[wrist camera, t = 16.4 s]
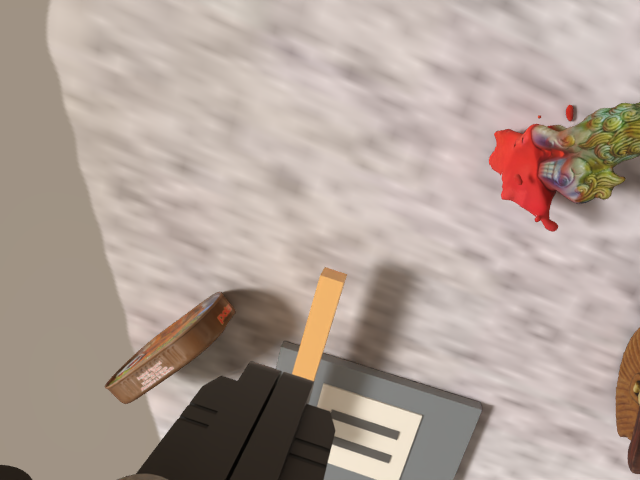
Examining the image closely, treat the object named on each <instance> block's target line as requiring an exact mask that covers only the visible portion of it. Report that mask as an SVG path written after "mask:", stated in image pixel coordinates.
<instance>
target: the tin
mask: <svg viewBox="0 0 640 480" xmlns="http://www.w3.org/2000/svg"><path fill="white" fill-rule="evenodd" d="M235 312H236V311H235V309H234V308H233V306H232V305H231V304H230V303H229V302H228V300H227V299H226V298H225V297H224V296H223V293H222V292H217V293H215V294H213V295H212V296H210V297H209V298H207V299H206V300H204V301H203V302H202V303H200V304H199V305H198V306H196V307H195V308H193V309H192V310H191V311H189V312H188V313H187V314H185V315H184V316H183V317H181V318H180V319H179V320H177V321H176V322H175V323H173V324H172V325H171V326H169V327H168V328H166V329H165V330H164V331H162V332H161V333H160V334H158V335H157V336H156V337H155V338H153V339H152V340H151V341H150V342H148V343H147V344H146V345H145V346H144V347H143V348H141V349H140V350H139V351H138V352H137V353H136V354H135V355H134V356H133V357H132V358H131V359H129V360H128V361H127V362H126V363H125V364H124V365H123V366H122V367H121V368H120V369H119V370H118V371H117V372H116V373H115V374H114V375H113V376H112V378H111V379H110V380H109V381H108V382H107V383H106V385H105V388H106V389H108V390H109V391H110V392H111V393H112V394H113V395H114V396H115V397H116V398H117V399H118V400H119V401H120V402H122V403H124V404H128V403H131V402H132V401H134V400H136V399H138V398H139V397H140V396H142V395H143V394H145V393H146V392H148V391H149V390H151V389H152V388H154V387H155V386H157V385H158V384H160V383H161V382H163V381H164V380H165V379H167V378H168V377H170V376H171V375H173V374H174V373H175V372H177V371H178V370H180V369H181V368H182V367H184V366H185V365H187V364H188V363H189V362H191V361H192V360H193V359H195V358H196V357H197V356H198V355H200V354H201V353H202V352H203V351H204V350H205V349H207V348H208V347H209V346H210V345H211V344H212V343H213V342H214V341H215V340H216V339H217V338H218V337H219V336H220V334H221V333H222V332H223V331H224V329H225V327H226V325H227V324H228V322H229V321H230V319H231V318H232V316H233V315H234V314H235Z"/></svg>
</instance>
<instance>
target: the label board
mask: <svg viewBox="0 0 640 480" xmlns="http://www.w3.org/2000/svg"><path fill="white" fill-rule="evenodd" d="M299 348H300V346H299V345H296V344H292V343H289V342H286V341H284V342H283V344H282V346H281V349H280V353H279V357H278V362H277V366H276V369H277V370H280V371H282V373H283V372H287V373H290V374H292V372H293V369H294V365H295V362H296V358H297V355H298V351H299ZM309 405H312V406H315V407H318V408H321V409H324V410H327V411H330V413H331V416H332V420H333V423H334V427H335V430H336V431H335V435H334V439H333V443H332V447H331V451H330V455H329V459H328V463H327V467H326V472H325V476H324V480H453V479H454V477H455V475H456V472H457V470H458V467H459V465H460V462H461V460H462V458H463V455H464V453H465V450H466V448H467V445H468V443H469V441H470V438H471V436H472V433H473V431H474V428H475V426H476V424H477V421H478V419H479V416H480V414H481V412H482V408H481V403H480V402H477V401H474V400H471V399H468V398H465V397H462V396H458V395H455V394H452V393H449V392H446V391H442V390H439V389H436V388H433V387H430V386H426V385H423V384H420V383H417V382H414V381H410V380H407V379H404V378H401V377H398V376H395V375H391V374H388V373H385V372H382V371H379V370H375V369H372V368H369V367H366V366H363V365H359V364H356V363H353V362H350V361H347V360H343V359H340V358H337V357H334V356H331V355H328V354H324V353H323V354H322V358H321V361H320V364H319V367H318V371H317V374H316V377H315V380H314V386H313V390H312V394H311V397H310V401H309Z"/></svg>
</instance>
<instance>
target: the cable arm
mask: <svg viewBox="0 0 640 480" xmlns="http://www.w3.org/2000/svg"><path fill="white" fill-rule="evenodd" d="M346 276H347V274H344V273H341V272H338V271H335V270H332V269H329V268H326V267H325V268H324V270H323V271H322V273H321V275H320V278H319V282H318V285H317V289H316V292H315V296H314V299H313V302H312V306H311V309H310V313H309V316H308V320H307V323H306V327H305V330H304V334H303V337H302V341H301V344H300V348H299V351H298V355H297V358H296V362H295V365H294V369H293V372H292V374H293V375H296V376H299V377H303V378H306V379H309V380H312V381H314V380H315V377H316V374H317V371H318V367H319V364H320V361H321V358H322V354H323V351H324V348H325V345H326V341H327V338H328V335H329V332H330V328H331V325H332V322H333V319H334V315H335V312H336V309H337V306H338V302H339V299H340V296H341V293H342V289H343V286H344V283H345V280H346Z"/></svg>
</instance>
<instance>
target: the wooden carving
mask: <svg viewBox="0 0 640 480" xmlns="http://www.w3.org/2000/svg"><path fill="white" fill-rule="evenodd" d="M616 425H617V431H618V434H619V436H620V437H628V439H629V440H631V442H630V446H629V449H628V465H629V468H630V470H631V472H633V473H635V474H640V327H639V328H638V330H637V331H636V332H635V333H634V335H633V336H632V337H631V339H630V341H629V343H628V345H627V347H626V351H625V352H624V354H623V358H622V363H621V365H620V371H619V377H618V382H617V387H616Z"/></svg>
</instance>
